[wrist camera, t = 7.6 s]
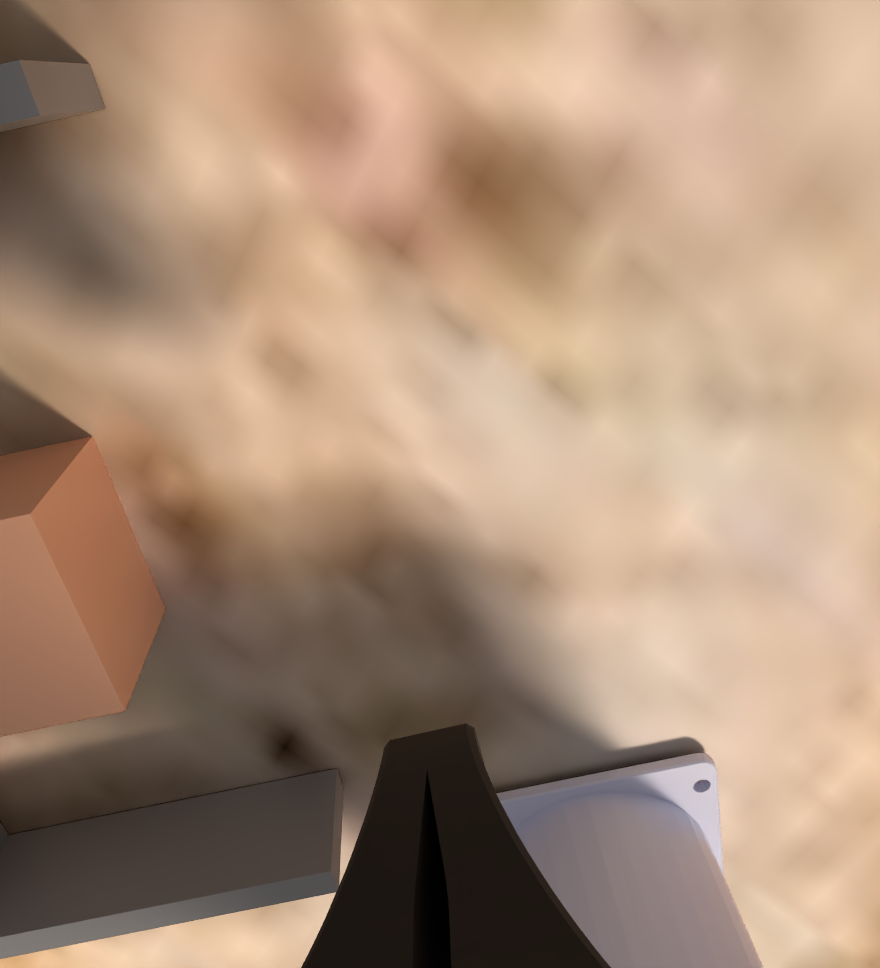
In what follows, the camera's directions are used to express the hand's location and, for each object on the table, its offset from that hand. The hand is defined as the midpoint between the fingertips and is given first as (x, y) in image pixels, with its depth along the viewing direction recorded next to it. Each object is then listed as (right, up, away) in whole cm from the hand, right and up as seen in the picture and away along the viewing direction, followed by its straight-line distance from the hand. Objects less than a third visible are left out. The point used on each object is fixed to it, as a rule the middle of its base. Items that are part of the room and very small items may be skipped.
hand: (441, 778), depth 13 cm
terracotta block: (-10, +3, +8) cm, 13 cm away
